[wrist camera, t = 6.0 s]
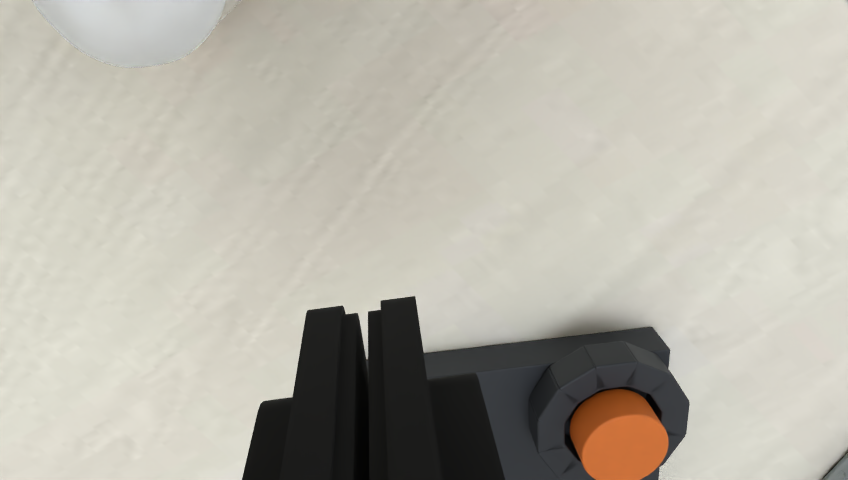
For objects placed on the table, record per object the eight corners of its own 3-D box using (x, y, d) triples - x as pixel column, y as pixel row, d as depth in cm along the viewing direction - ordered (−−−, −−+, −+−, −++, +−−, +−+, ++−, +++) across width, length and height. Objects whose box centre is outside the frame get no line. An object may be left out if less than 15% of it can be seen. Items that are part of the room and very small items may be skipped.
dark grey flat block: (658, 311, 29) (695, 354, 26) (642, 518, 34) (671, 575, 31) (344, 347, 28) (342, 396, 25) (376, 553, 34) (377, 615, 30)
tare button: (654, 383, 27) (672, 410, 25) (648, 450, 28) (666, 479, 27) (569, 393, 27) (582, 421, 25) (568, 460, 28) (580, 490, 26)
